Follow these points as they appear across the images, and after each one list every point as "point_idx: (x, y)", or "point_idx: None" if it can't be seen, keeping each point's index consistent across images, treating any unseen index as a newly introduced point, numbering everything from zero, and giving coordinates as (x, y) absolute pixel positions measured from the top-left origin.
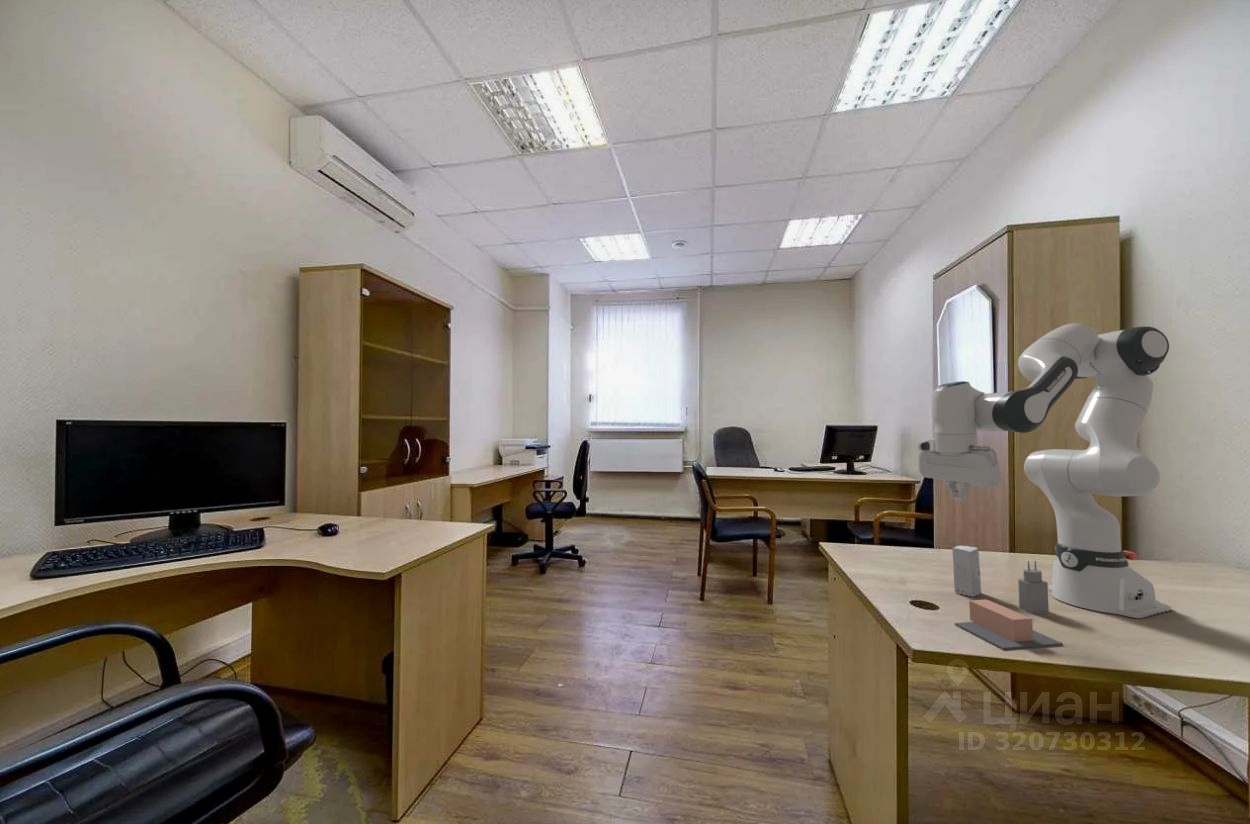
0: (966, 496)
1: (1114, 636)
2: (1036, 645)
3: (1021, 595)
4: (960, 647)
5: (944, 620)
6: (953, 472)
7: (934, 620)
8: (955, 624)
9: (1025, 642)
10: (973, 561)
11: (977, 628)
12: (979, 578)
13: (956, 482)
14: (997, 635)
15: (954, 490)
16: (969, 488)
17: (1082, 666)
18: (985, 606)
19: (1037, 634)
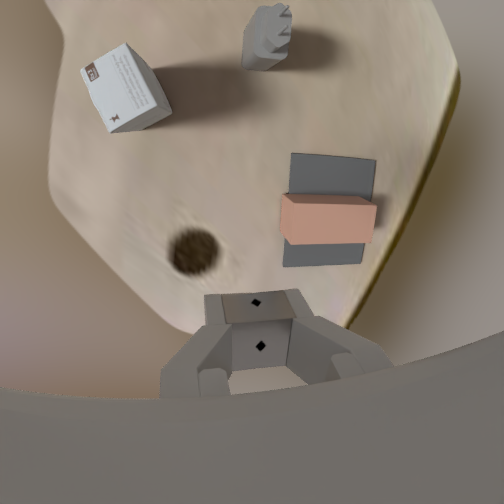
0: (303, 301)
1: (367, 43)
2: None
3: (257, 64)
4: (337, 310)
5: (263, 268)
6: None
7: (260, 285)
8: (284, 266)
9: None
10: (153, 90)
11: (308, 246)
12: (148, 67)
13: (228, 392)
14: None
15: (227, 359)
16: (359, 337)
17: (411, 201)
18: (320, 239)
19: (347, 166)
